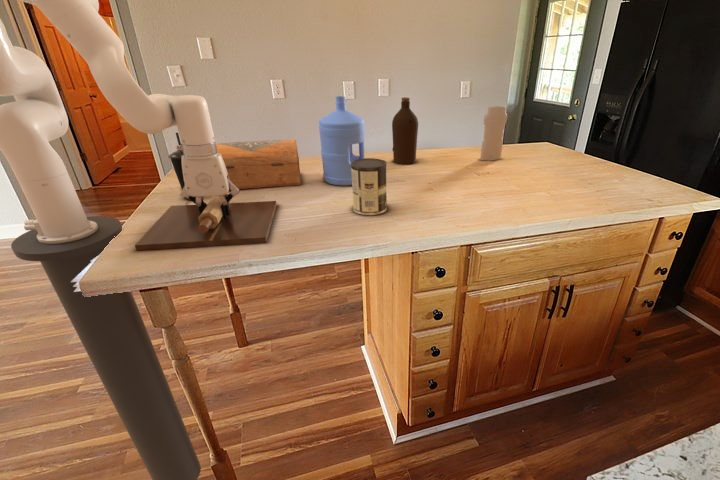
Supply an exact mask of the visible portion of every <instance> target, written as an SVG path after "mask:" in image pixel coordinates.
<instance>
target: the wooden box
mask: <svg viewBox="0 0 720 480" xmlns="http://www.w3.org/2000/svg"><path fill="white" fill-rule="evenodd" d="M216 147H217V152H218V153H220V154H221V156H222V158H223V161H224V163H225V166H226V169H227V172H228V176H229V179H230V181H231V182H232V183H233V184H234V185H235V186H236V187H237V188H238V189H239V190H243V189H244V190H246V189H247V190H248V189H259V188H262V189H263V188H273V187H274V188H275V187H290V186H291V187H292V186H301V185H302V178H301V177H302V176H301V168H300V159H299V158H300V157H299V152H298V145H297V140H296V139H272V140H271V139H267V140H250V141H249V140H248V141H232V142H216ZM229 191H231V189H229Z"/></svg>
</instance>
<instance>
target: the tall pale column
mask: <svg viewBox="0 0 720 480" xmlns="http://www.w3.org/2000/svg"><path fill="white" fill-rule="evenodd" d="M506 111H507V110H506V106H505V105H499V104H495V105H492V106H488V107H487V112H486V113H485V114H484V117H483V126H484V127H483V129H484V130H483V139H482V142H481V150H480V157H479V158H480V159H479V160H480V161H496V160H501V158H502V151H503V144H504V140H503V137H504V132H505V127H506V126H505V125H506V124H507V121H508V120H507V119H508V113H507V112H506Z"/></svg>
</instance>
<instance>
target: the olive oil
mask: <svg viewBox="0 0 720 480" xmlns="http://www.w3.org/2000/svg"><path fill="white" fill-rule="evenodd" d="M410 99H411V98H410V97H401V101H400V109H399V110H398V111H397V112H396V113H395V115H394V116H393V118H392V122H391V131H392V132H391V133H392V148H391V149H392V155H393V156H392V157H393V162H394V164H397V165H412V164H415V163H416V161H417V148H418V147H417V146H418V145H417V144H418V134H419V120H418V117H417V115H416V114H415V113H414V112H413V110H412V109H411V101H410Z"/></svg>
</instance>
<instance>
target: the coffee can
mask: <svg viewBox="0 0 720 480" xmlns="http://www.w3.org/2000/svg"><path fill="white" fill-rule="evenodd" d="M387 163H388V162H387V161H386V160H384V159H380V158H374V157H373V158H372V157H371V158H369V157H368V158H367V157H366V158H365V159H358V160H354V161H352V162H351V172H352V185H351V187H352V206H353V212H354V213H356V214H358V215H363V216H376V215H382V214H383V213H385V212H386V211H387V210H388V207H387V206H388V205H387V203H388V202H387V165H388V164H387Z"/></svg>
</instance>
